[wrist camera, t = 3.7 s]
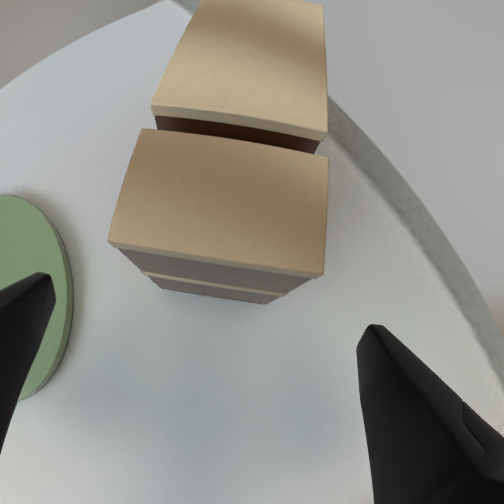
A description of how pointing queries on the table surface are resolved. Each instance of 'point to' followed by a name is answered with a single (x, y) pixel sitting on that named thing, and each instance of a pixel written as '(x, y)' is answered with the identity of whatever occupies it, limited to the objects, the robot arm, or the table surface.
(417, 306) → the table surface
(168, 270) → the cake slice
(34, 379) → the plate
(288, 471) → the table surface
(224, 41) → the cake loaf
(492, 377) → the table surface
